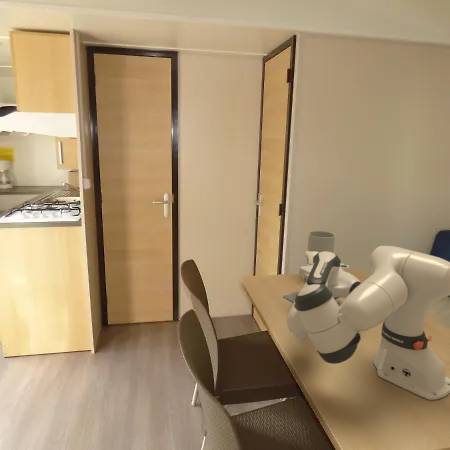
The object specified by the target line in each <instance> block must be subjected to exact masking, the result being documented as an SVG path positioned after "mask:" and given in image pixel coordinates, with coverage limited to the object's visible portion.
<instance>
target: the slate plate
mask: <svg viewBox="0 0 450 450" xmlns="http://www.w3.org/2000/svg"><path fill="white" fill-rule="evenodd" d="M300 291H301V290H299V291H296V292H293V293H289V294H286V295H283V299H285V300H286V301H287V300H288V301H289V302H290V303H292V304H293V303H294V302H295V298H296V295H297V293H298V292H300ZM335 301H336V302H337V304H338V305H340V304H342V302H341V301H339V300H337V299H335Z"/></svg>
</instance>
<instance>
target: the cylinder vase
mask: <svg viewBox="0 0 450 450" xmlns="http://www.w3.org/2000/svg"><path fill="white" fill-rule="evenodd" d="M335 237H336V234H335V233H333V232H330V231H325V230H311V231H309V232H308V240H307V251H310V252H311V251H317V252H321V251H329V252H333V253H334V248H335V239H336V238H335ZM308 263H309V259H308V258H306V264H308ZM306 281H307V279H306V278H305V282H306Z"/></svg>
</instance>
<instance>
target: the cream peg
mask: <svg viewBox="0 0 450 450" xmlns="http://www.w3.org/2000/svg"><path fill="white" fill-rule="evenodd" d="M317 253H319V252H317V251H311V252H310V251H308V250H306V251H305V252H304V257H305V258H306V259H307V258H308V259H309V264H311V265H313V257H314V256H315V255H316V254H317Z"/></svg>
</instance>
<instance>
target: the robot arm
mask: <svg viewBox="0 0 450 450" xmlns="http://www.w3.org/2000/svg"><path fill="white" fill-rule="evenodd" d="M368 264H369V267H370V270H371V272H372V274H371V275H370V276H369V277H367V278H366V279H365V280H363V281H362V282H361V280H360V279H359V278H357V277H356V276H355V275H353V274H351V273H350V269H351V268H350V265H348V264H345V263H343V262H342V261H341V259H340V257H339V256H338V255H337V254H336V253H335V252H334V251H333V252H329V251H321V252H319V253H317V254H316V255H315V256H314V257H313V265H311V264H309V263H308V264H307V263H305V264H304V265H302V266H300V267H299V270H298V272H299V273H298V274H299V276H301V277H302V278H306V279H307V281H306V279H305V282H304V284H303V286H302V288H301V290H299V291H300V292H299V291H297V292H298V293H297V295H296V298H295V302H294V303H293V302H292V305H291V307H290V309H289V312H288V316H287V319H286V321H287V322H286V323H287V328H288V331H290V333H291V334H292V335H293V336H295V337H296V338H298V339H301V340H307V339H310V340H311V342H312V344H313V346H314V347H315V349H316V352H317V354H318V355H319V356H320V358H321V359H322V360H323V362H325V363H327V364H333V365H334V364H340V363H341V364H342V363H344V362H345V361H348V360H349V359H350V358H352V357H353V355H354V354H355V352H356V350H357V349H358V345H359V343H360V341H361V340H362V339H361V333H362V332H366V331H369V330H371V329H373V328H375V327H377V326H379V325H380V324H381V323H382V327H381V340H380V344H379V347H378V350H377V353H376V355H375V357H374V359H373V364H374V366H375V368H376V370H377V376H378V377H379V378H382V379H384V380H386V381H388V382H390V383H391V384H394V385H396V386H398V387H400V388H402V389H405V390H406V391H408V392H410V393H413V394H415V395H417V396H419V397H421V398H424V399H426V400H430V401H431V400H432V401H434V400H440V399H443V398H444V397H446V396H448V395H449V394H450V378H449V377H448V376H447V374H446V365H445V363H444V361H442V360H441V359H440V358H439V356H438V355H436V353H435V352H434V351H433V349H432V348H431V347H430V346H429V344H428V342H431V340H432V336H429V337H426V332H425V329H424V328H425V323H426V319H427V315H428V312H429V309H430V308H431V307H432V306H433V304H434V303H435V302H437V301H439V300H441V299H444V298H446V297H449V296H450V261H448V260H446V259H445V258H441V257H438V256H435V255H432V254H427V253H424V252H419V251H415V250H411V249H407V248H404V247H399V246H395V245H394V246H393V245H379V246H378V247H376V248H375V249H374V250H373V251H372V253H371V254H370V257H369V263H368ZM339 298H343V301H342V302H341V303H340V304H341V305H340V306H339V304H337V302H336V301H335V299H336V300H337V299H339ZM360 332H361V333H360Z"/></svg>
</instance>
